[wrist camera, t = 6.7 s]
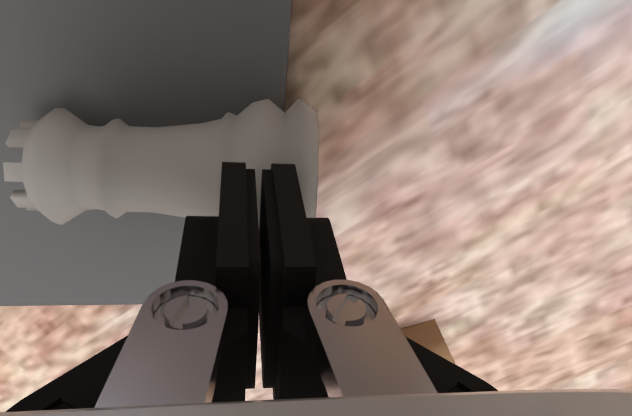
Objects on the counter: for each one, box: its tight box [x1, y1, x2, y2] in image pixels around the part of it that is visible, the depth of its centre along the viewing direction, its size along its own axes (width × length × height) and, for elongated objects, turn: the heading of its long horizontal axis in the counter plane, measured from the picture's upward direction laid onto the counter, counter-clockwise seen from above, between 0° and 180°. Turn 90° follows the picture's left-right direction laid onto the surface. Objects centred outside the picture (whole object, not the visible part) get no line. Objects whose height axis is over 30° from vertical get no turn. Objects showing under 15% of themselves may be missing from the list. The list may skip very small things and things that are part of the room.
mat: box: [0, 0, 292, 306], centre depth 16 cm, size 14×14×1 cm
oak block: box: [401, 319, 455, 364], centre depth 22 cm, size 4×4×4 cm
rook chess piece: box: [3, 98, 319, 225], centre depth 15 cm, size 4×4×8 cm
